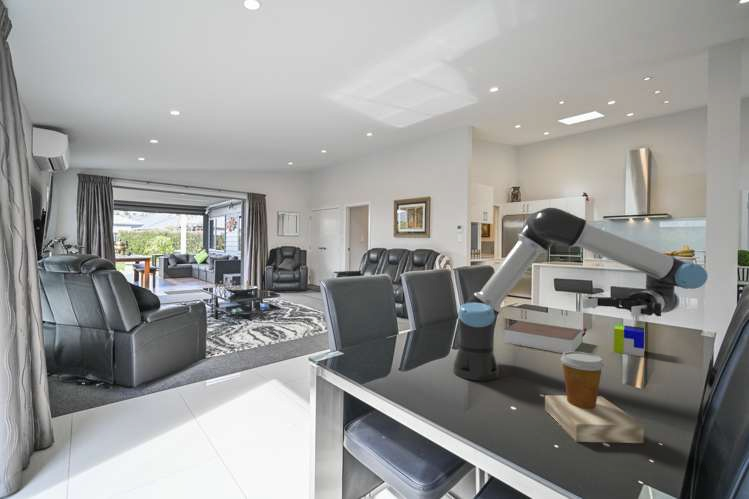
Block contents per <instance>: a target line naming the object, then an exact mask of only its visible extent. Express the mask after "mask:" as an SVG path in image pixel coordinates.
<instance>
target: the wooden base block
mask: <svg viewBox="0 0 749 499" xmlns="http://www.w3.org/2000/svg"><path fill="white" fill-rule="evenodd" d="M544 411H546V413H547V414H548V413H549V414H550V415H551V416H552V417H553V418H554V419H555V420H556V421H557V422H558V423H559V424H558V423H557V422H556V421H555V420H554V419H553V420H554V421H555V422H556V423H557V424H558V425H559V426H560V425H561V426H562V427H561V426H560V427H561V428H562V429H563V430H564V431H565V432H566V433H567V434H568V435H569V436H570V438H572V440H574V441H575V442H577V443H614V444H615V443H616V444H617V443H622V444H623V443H627V444H628V443H629V444H644V435H645V433H644V432H645V431H644V430H645V425H644V424H642V423H640V422H639V421H638V420H637V419H635V418H634V417H632V416H631V415H629V414H628V413H626V412H625V411H624V410H622V409H621V408H619V407H617V406H616V405H615V404H614V403H612V402H610V401H609V400H607V399H606V398H605V397H604V396H602V395H599V396H598V395H597V401H596V407H595V408H590V409H589V408H581V407H577V406H574V405H572V404H570V403H569V402H568V401H567V395H549V394H547V395H544ZM550 415H549V416H550ZM551 416H550V417H551ZM552 417H551V418H552Z"/></svg>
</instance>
